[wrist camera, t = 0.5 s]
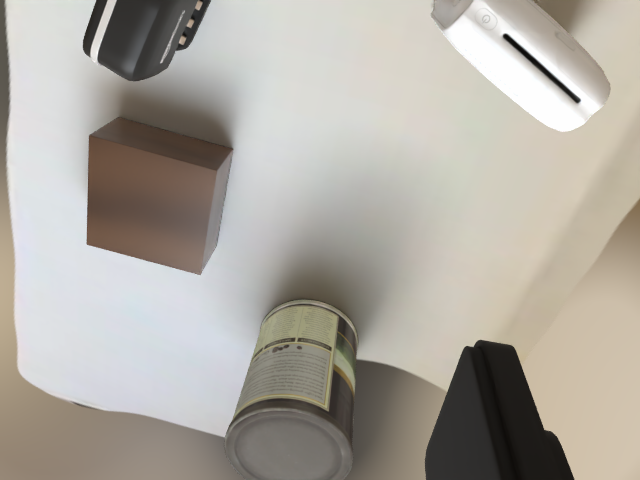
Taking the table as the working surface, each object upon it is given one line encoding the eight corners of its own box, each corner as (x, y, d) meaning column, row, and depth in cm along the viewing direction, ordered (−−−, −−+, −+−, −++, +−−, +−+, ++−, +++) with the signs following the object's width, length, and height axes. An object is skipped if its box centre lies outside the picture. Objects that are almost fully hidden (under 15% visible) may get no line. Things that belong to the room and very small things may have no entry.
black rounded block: (193, 62, 40) (132, 98, 30) (149, 34, 39) (71, 61, 29) (233, -22, 37) (179, -14, 27) (186, -55, 36) (113, -58, 26)
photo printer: (418, 13, 36) (435, 37, 26) (461, -42, 35) (498, -41, 24) (520, 101, 39) (575, 157, 28) (566, 54, 37) (643, 95, 26)
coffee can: (379, 336, 51) (380, 456, 39) (317, 390, 56) (299, 512, 43) (299, 279, 49) (272, 388, 36) (240, 340, 53) (199, 455, 41)
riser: (118, 116, 43) (88, 135, 38) (233, 148, 43) (217, 170, 39) (112, 218, 47) (86, 244, 43) (216, 246, 48) (200, 275, 44)
